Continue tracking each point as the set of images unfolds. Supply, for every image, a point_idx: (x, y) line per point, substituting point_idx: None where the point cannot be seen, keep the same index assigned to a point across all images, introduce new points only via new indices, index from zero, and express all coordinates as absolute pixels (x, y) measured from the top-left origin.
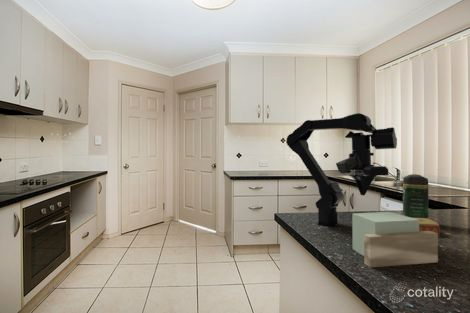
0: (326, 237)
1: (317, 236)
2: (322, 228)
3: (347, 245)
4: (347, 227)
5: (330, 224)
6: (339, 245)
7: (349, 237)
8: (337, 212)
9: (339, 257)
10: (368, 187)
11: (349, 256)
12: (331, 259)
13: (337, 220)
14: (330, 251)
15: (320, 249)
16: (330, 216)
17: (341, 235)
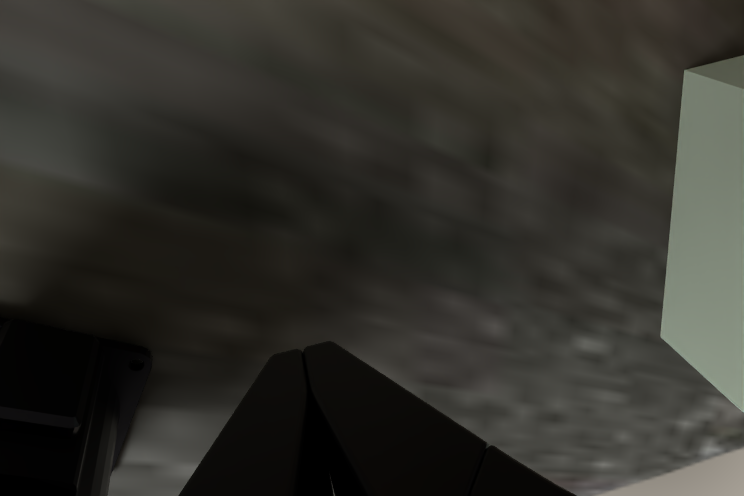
0: None
1: None
2: None
3: (604, 350)
4: (145, 242)
5: (126, 396)
6: (595, 390)
7: (459, 302)
8: (41, 420)
9: (732, 413)
10: (451, 427)
11: None
12: (740, 444)
13: (92, 361)
14: (661, 440)
15: (628, 477)
16: (105, 457)
17: (409, 345)
